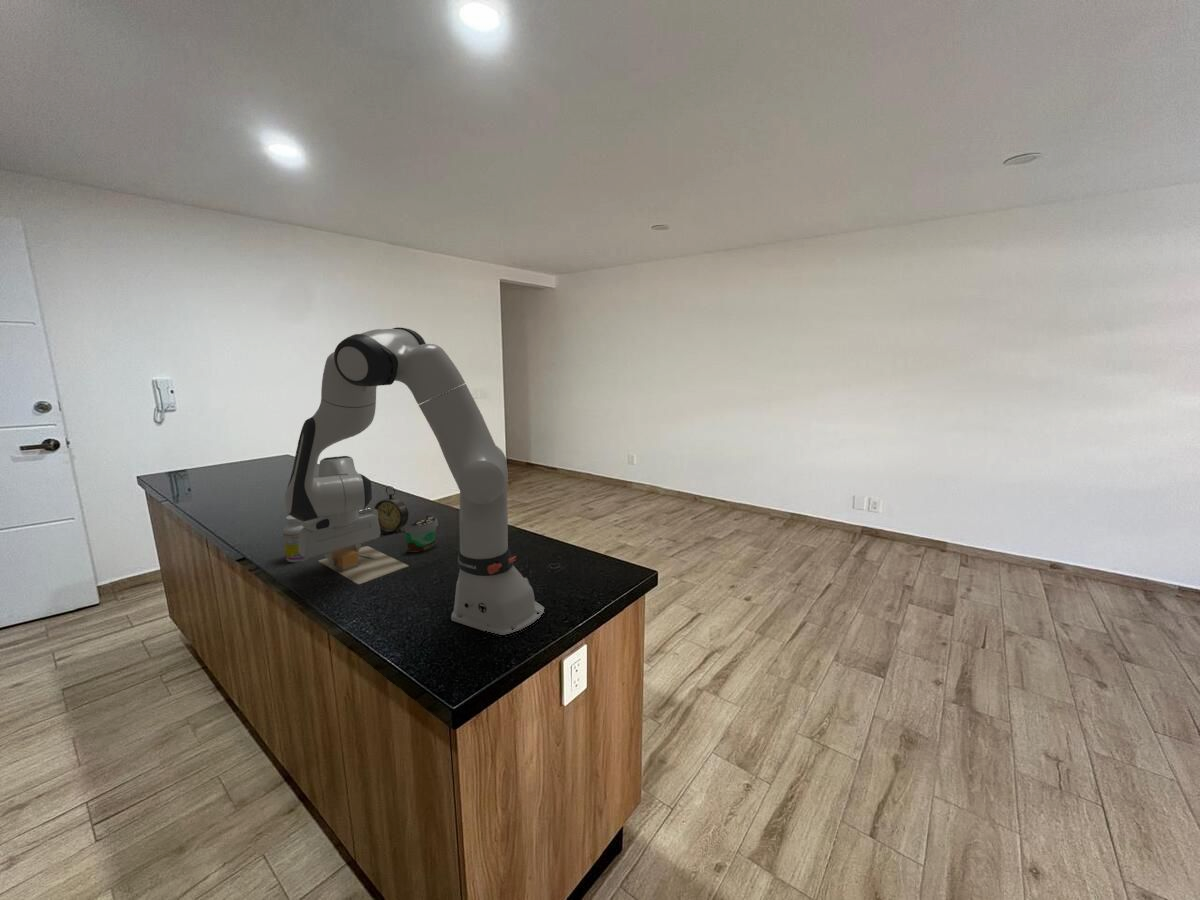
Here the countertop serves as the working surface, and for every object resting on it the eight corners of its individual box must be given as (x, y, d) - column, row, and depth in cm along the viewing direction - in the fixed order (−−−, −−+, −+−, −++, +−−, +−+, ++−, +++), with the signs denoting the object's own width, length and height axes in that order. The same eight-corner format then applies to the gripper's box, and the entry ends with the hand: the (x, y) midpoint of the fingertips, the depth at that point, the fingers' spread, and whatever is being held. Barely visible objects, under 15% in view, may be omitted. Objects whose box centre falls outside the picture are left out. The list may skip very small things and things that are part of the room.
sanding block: (358, 566, 124) (357, 552, 124) (343, 571, 121) (342, 557, 120) (343, 558, 129) (343, 545, 128) (329, 563, 126) (328, 549, 125)
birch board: (409, 570, 126) (409, 565, 126) (359, 589, 115) (358, 584, 115) (367, 550, 138) (367, 545, 138) (318, 565, 127) (317, 560, 127)
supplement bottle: (302, 552, 136) (298, 511, 133) (319, 555, 134) (315, 514, 131) (280, 561, 129) (276, 518, 127) (297, 564, 127) (293, 521, 125)
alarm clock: (373, 533, 152) (370, 486, 149) (384, 527, 157) (382, 482, 154) (401, 537, 150) (399, 489, 147) (412, 531, 155) (410, 485, 152)
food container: (424, 560, 133) (423, 528, 131) (405, 558, 134) (404, 526, 132) (446, 544, 145) (445, 515, 143) (429, 542, 146) (428, 513, 144)
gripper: (371, 503, 132) (374, 547, 135) (293, 521, 116) (298, 571, 118) (383, 507, 129) (385, 553, 131) (304, 527, 112) (309, 578, 115)
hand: (343, 562), depth 125 cm, fingers closed on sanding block, 4 cm apart
